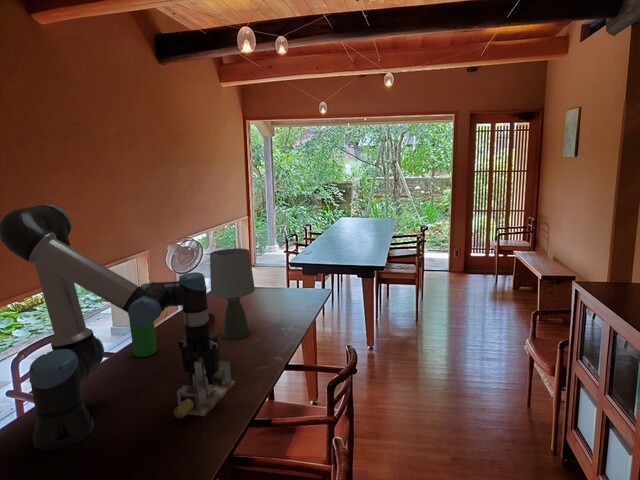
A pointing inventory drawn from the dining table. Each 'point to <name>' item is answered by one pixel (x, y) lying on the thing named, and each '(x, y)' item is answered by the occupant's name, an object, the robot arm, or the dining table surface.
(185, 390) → the sleeve
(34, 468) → the dining table surface
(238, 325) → the lamp
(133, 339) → the bottle
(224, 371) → the socket
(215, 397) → the plank
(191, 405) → the slide bolt
